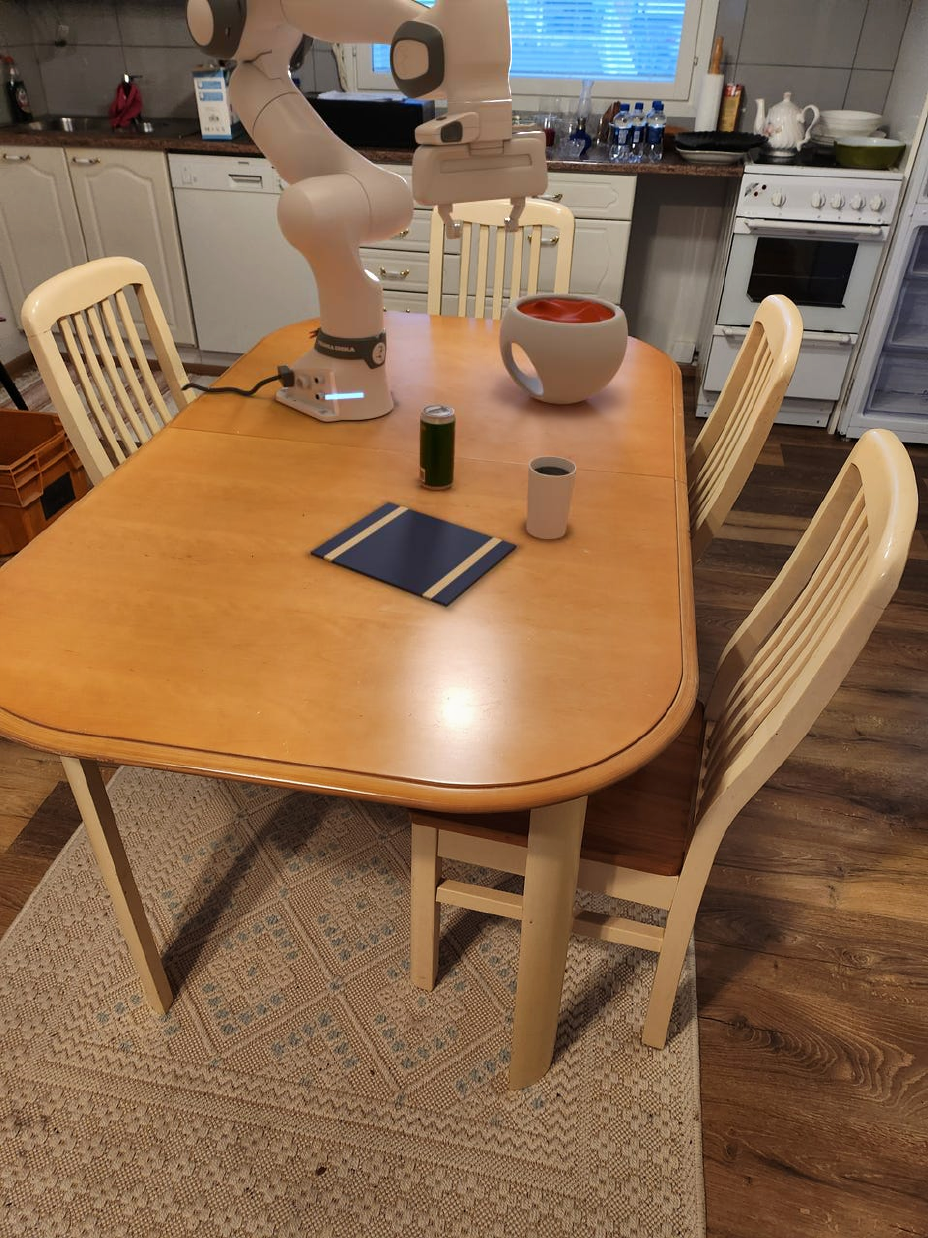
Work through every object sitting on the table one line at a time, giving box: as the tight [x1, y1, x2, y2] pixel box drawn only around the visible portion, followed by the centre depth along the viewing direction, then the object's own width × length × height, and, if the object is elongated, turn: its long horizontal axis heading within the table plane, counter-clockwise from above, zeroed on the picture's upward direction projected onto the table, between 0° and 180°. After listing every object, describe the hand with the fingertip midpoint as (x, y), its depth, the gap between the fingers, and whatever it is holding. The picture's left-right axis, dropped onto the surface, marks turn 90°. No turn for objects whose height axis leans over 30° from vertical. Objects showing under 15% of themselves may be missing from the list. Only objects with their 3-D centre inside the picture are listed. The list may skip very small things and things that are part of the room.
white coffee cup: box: [525, 455, 577, 540], centre depth 123 cm, size 7×7×10 cm
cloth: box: [310, 501, 518, 608], centre depth 119 cm, size 22×18×1 cm
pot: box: [498, 292, 629, 405], centre depth 165 cm, size 24×24×18 cm
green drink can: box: [418, 404, 457, 491], centre depth 133 cm, size 5×5×12 cm
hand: (482, 235), depth 126 cm, fingers open, 8 cm apart
